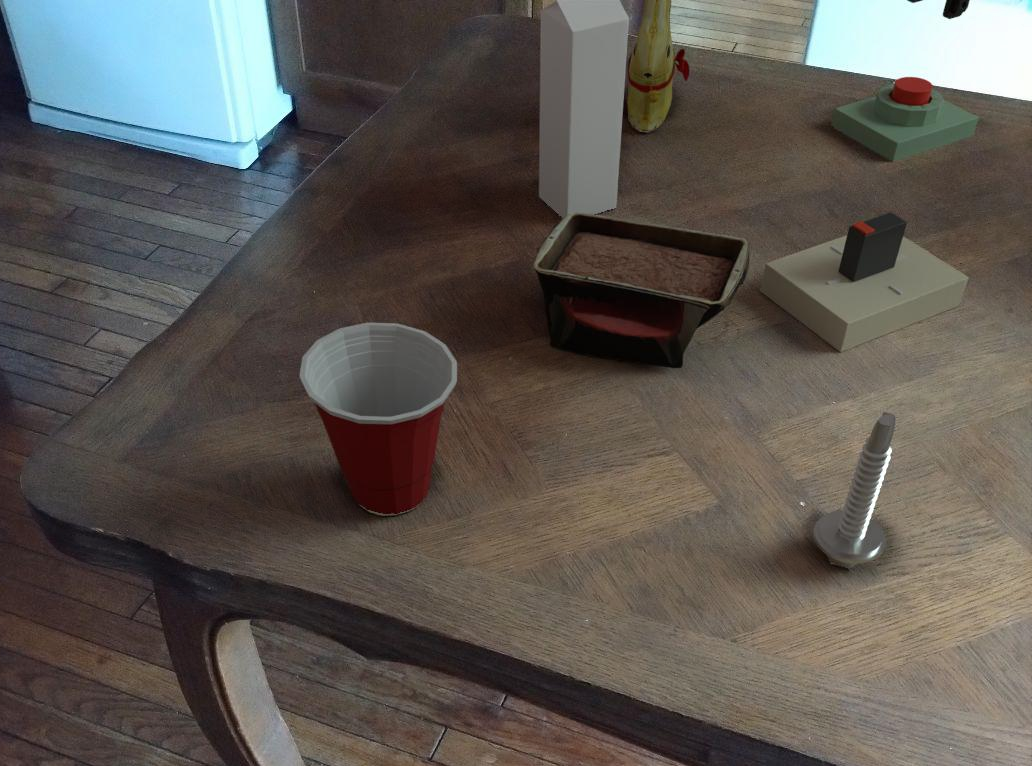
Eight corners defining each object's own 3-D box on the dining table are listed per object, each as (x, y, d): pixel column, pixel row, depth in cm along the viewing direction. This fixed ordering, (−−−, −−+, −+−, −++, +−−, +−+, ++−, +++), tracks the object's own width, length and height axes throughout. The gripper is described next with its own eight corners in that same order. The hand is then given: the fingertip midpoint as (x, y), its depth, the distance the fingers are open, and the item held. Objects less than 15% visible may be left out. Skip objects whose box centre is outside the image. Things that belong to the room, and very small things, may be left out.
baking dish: (586, 281, 104) (572, 188, 97) (767, 299, 96) (766, 199, 89) (526, 373, 96) (505, 279, 89) (718, 400, 88) (713, 299, 81)
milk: (538, 198, 111) (538, -28, 96) (588, 184, 113) (596, -40, 97) (567, 224, 108) (572, -7, 92) (618, 209, 109) (632, -21, 94)
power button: (910, 89, 119) (914, 73, 118) (936, 102, 117) (940, 86, 116) (883, 97, 118) (887, 81, 117) (908, 111, 116) (913, 95, 114)
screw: (865, 528, 77) (888, 578, 74) (800, 533, 77) (819, 583, 74) (912, 386, 68) (941, 435, 64) (838, 391, 67) (862, 441, 64)
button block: (909, 103, 125) (918, 68, 122) (973, 136, 119) (984, 101, 116) (830, 127, 121) (837, 92, 118) (892, 162, 115) (901, 126, 112)
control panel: (874, 250, 103) (882, 221, 101) (959, 306, 96) (970, 275, 94) (759, 291, 99) (765, 261, 96) (840, 352, 92) (848, 322, 89)
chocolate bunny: (619, 138, 120) (628, -2, 110) (630, 97, 128) (640, -38, 117) (679, 143, 119) (695, 2, 108) (687, 101, 127) (703, -35, 116)
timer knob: (878, 257, 97) (891, 209, 93) (894, 267, 95) (908, 219, 92) (837, 271, 95) (849, 223, 92) (853, 282, 94) (865, 234, 90)
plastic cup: (448, 550, 76) (439, 422, 68) (305, 534, 78) (278, 406, 69) (476, 451, 84) (471, 324, 75) (344, 438, 85) (324, 312, 77)
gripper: (899, -196, 101) (858, -6, 114) (1016, -163, 93) (958, 39, 105) (957, -206, 104) (911, -19, 116) (1076, -175, 95) (1013, 23, 107)
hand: (933, 7), depth 110 cm, fingers open, 4 cm apart
